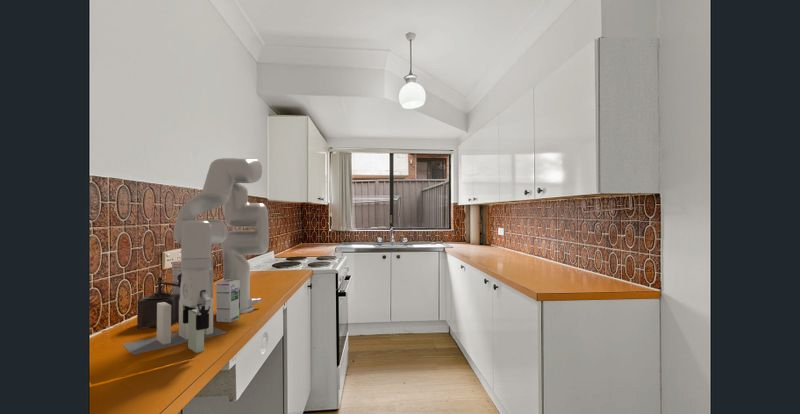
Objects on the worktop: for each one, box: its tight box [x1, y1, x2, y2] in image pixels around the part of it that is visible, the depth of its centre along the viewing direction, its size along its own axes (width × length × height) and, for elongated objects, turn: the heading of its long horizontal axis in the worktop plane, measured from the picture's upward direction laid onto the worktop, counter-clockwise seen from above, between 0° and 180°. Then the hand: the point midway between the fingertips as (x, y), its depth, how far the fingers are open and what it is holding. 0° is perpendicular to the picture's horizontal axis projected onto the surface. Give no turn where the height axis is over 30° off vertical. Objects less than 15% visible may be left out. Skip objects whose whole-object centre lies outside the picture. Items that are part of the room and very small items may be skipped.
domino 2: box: [178, 300, 188, 339], centre depth 118 cm, size 2×6×11 cm, turn 48°
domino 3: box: [187, 309, 205, 354], centre depth 108 cm, size 2×6×11 cm, turn 48°
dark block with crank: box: [136, 273, 182, 330], centre depth 133 cm, size 16×11×18 cm
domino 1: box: [156, 302, 172, 344], centre depth 114 cm, size 2×6×11 cm, turn 48°
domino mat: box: [122, 326, 227, 355], centre depth 117 cm, size 25×12×1 cm, turn 138°
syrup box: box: [215, 279, 241, 323], centre depth 137 cm, size 6×6×14 cm
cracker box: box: [171, 257, 214, 308], centre depth 146 cm, size 14×6×21 cm, turn 161°
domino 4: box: [200, 297, 214, 335], centre depth 123 cm, size 2×6×11 cm, turn 48°
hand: (195, 325), depth 107 cm, fingers open, 9 cm apart
